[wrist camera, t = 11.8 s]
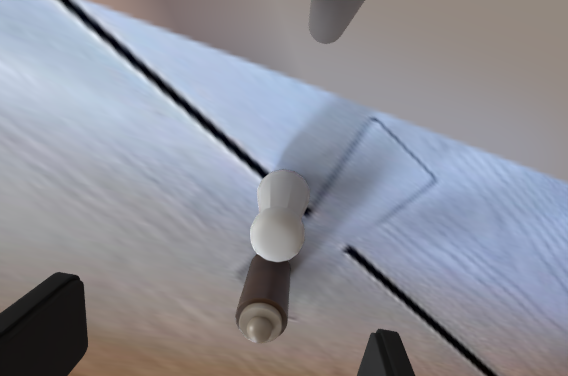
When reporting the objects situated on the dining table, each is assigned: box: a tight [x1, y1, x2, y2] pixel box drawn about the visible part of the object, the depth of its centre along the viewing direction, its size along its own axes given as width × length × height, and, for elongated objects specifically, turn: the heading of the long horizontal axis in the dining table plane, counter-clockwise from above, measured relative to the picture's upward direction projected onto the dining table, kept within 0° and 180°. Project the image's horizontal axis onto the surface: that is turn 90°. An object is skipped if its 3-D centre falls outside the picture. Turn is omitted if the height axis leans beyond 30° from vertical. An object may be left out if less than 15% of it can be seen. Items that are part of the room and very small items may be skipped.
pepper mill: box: [235, 254, 291, 343], centre depth 32 cm, size 5×5×11 cm
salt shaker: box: [250, 169, 310, 262], centre depth 28 cm, size 6×6×13 cm
